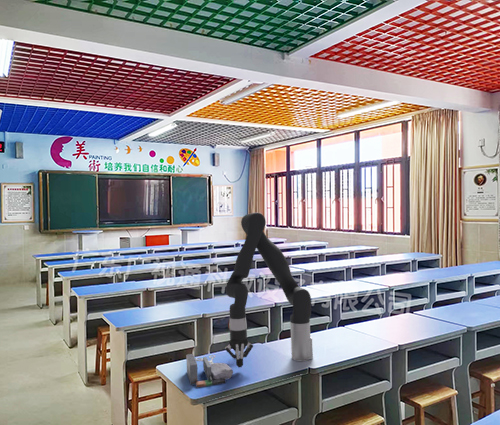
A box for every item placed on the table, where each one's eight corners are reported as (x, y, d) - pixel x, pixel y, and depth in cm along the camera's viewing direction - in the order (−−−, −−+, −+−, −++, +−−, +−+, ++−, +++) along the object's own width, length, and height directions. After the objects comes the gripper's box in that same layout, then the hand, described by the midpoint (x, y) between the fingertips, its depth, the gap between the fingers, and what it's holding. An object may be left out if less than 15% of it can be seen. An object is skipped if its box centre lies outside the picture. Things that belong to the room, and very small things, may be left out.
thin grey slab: (206, 369, 185) (206, 356, 185) (213, 384, 168) (213, 371, 168) (203, 369, 184) (203, 357, 184) (209, 385, 167) (209, 371, 167)
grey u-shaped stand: (218, 368, 187) (217, 350, 187) (225, 383, 170) (224, 363, 170) (187, 372, 183) (186, 354, 183) (191, 388, 166) (190, 368, 166)
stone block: (226, 373, 186) (205, 372, 183) (228, 362, 186) (207, 361, 183) (234, 383, 175) (212, 383, 171) (236, 372, 175) (214, 371, 172)
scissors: (212, 353, 206) (229, 365, 188) (212, 355, 206) (229, 367, 188) (192, 358, 201) (208, 370, 183) (192, 359, 201) (208, 372, 183)
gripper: (250, 323, 187) (252, 362, 187) (221, 327, 184) (223, 365, 184) (254, 328, 180) (256, 367, 180) (225, 331, 177) (226, 371, 177)
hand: (239, 366), depth 182 cm, fingers closed
